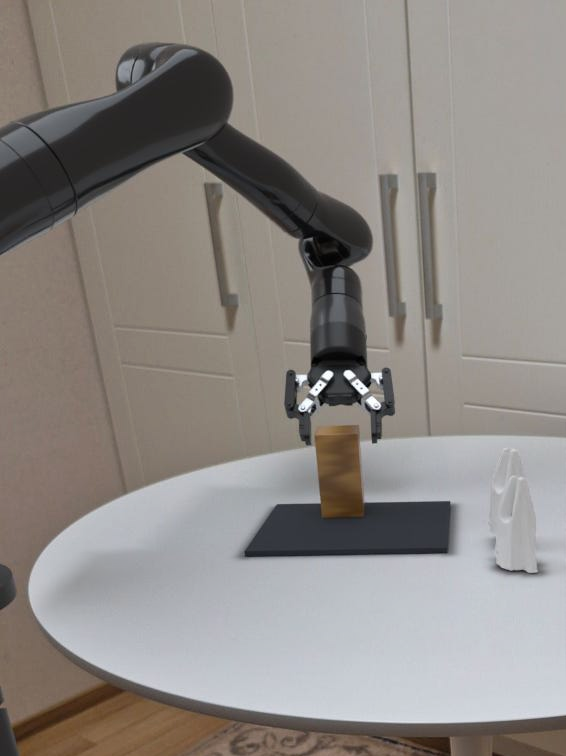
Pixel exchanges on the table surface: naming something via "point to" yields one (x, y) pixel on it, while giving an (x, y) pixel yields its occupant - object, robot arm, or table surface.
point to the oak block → (340, 471)
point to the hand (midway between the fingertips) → (341, 441)
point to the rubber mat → (354, 530)
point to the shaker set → (512, 515)
